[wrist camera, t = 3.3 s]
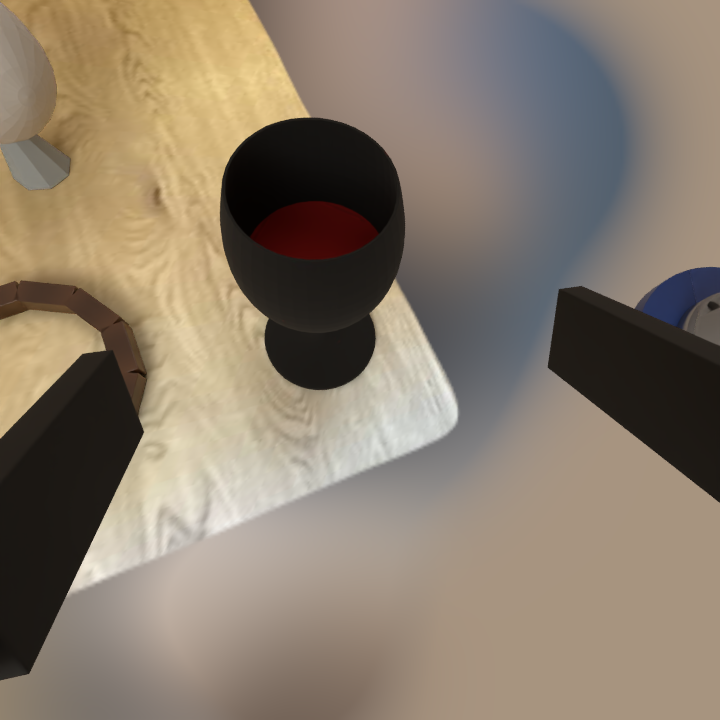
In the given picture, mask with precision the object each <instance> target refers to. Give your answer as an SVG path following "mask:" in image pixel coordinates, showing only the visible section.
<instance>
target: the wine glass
mask: <svg viewBox="0 0 720 720" xmlns="http://www.w3.org/2000/svg"><path fill="white" fill-rule="evenodd" d="M220 226H221V233H222V241H223V247H224V251H225V255H226V258H227V261H228V264H229V267H230V270H231V272H232V274H233V276H234V278H235V280H236V282H237V284H238V286H239V287H240V289H241V290H242V292H243V293H244V295H245V296H246V297H247V298H248V300H249V301H250V302H251V303H252V304H253V305H254V306H255V307H256V308H257V309H258V310H259V311H260V312H261V313H263V314H264V315H265V316H267V317H268V318H269V320H268V322H267V325H266V330H265V346H266V351H267V354H268V357H269V359H270V361H271V363H272V365H273V366H274V367H275V369H276V370H277V371H278V372H279V373H280V374H281V375H282V376H283V377H284V378H285V379H287V380H288V381H290V382H291V383H293V384H296V385H298V386H300V387H304V388H307V389H314V390H327V389H332V388H337V387H339V386H342V385H345V384H346V383H348V382H350V381H352V380H353V379H354V378H356V377H357V376H358V375H359V374H360V373H361V372H362V371H363V370H364V369H365V367H366V366H367V364H368V363H369V361H370V359H371V357H372V354H373V351H374V347H375V339H376V338H375V329H374V325H373V322H372V319H371V317H370V315H369V313H370V312H371V311H372V310H374V309H375V308H376V307H377V306H378V305H379V303H380V302H381V301H382V300H383V298H384V297H385V295H386V294H387V292H388V291H389V289H390V287H391V285H392V283H393V281H394V279H395V277H396V275H397V272H398V269H399V265H400V261H401V258H402V253H403V248H404V238H405V216H404V207H403V199H402V192H401V187H400V182H399V178H398V174H397V171H396V168H395V167H394V165H393V163H392V161H391V159H390V158H389V156H388V155H387V153H386V152H385V150H384V149H383V148H382V147H381V146H380V145H379V144H378V143H377V142H376V141H375V140H373V139H372V138H371V137H369V136H368V135H367V134H365V133H364V132H362V131H360V130H358V129H356V128H354V127H352V126H349V125H347V124H344V123H342V122H338V121H334V120H329V119H323V118H295V119H289V120H284V121H280V122H277V123H274V124H271V125H268V126H266V127H264V128H262V129H260V130H259V131H257V132H255V133H254V134H252V135H251V136H250V137H248V138H247V139H245V140H244V141H243V142H242V143H241V145H240V146H239V147H238V148H237V149H236V150H235V152H234V153H233V154H232V156H231V157H230V159H229V161H228V163H227V165H226V168H225V171H224V175H223V179H222V188H221V201H220Z"/></svg>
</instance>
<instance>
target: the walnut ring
mask: <svg viewBox="0 0 720 720" xmlns="http://www.w3.org/2000/svg"><path fill="white" fill-rule="evenodd" d="M30 309H31V310H41V311H51V312H61V313H71V314H77V315H78V316H80V317H81V318H82V319H84V320H85V321H86V322H88V323H89V324H90V325H92V326H93V327H94V328H96V329H97V330H98V331H100V332H101V335H102V338H103V341H104V344H105V348H106V351H108V350H113V352H114V354H115V357H116V360H117V362H118V365H119V368H120V370H121V373H122V375H123V378H124V381H125V383H126V386H127V389H128V391H129V394H130V396H131V399H132V402H133V404H134V407H135V410H136V412H137V415H138V411H139V407H140V403H141V399H142V396H143V392H144V388H145V384H146V380H147V379H146V378H144V377H143V375H145V374H146V370H145V367H144V364H143V361H142V358H141V355H140V352H139V349H138V346H137V343H136V340H135V337H134V334H133V331H132V329H131V328H130V327H129V326H128V325H129V324H128V323H126V322H125V321H124V320H123V319H122V318H121V317H120V316H118V315H117V314H115V313H114V312H113V311H111V310H110V309H109V308H107V307H106V306H104V305H103V304H102V303H100V302H99V301H98V300H96V299H95V298H94V297H92V296H91V295H89V294H88V293H87V292H85V291H84V290H83V289H81V288H79V289H78V288H77V287H76V286H69V285H59V284H50V283H40V282H30V281H20V284H19V283H17V282H16V281H14V282H11V283H8V284H5V285H2V286H0V320H1V319H4V318H6V317H9V316H12V315H15V314H18V313H21V312H24V311H27V310H30Z"/></svg>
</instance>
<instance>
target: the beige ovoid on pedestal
mask: <svg viewBox="0 0 720 720" xmlns="http://www.w3.org/2000/svg"><path fill="white" fill-rule="evenodd" d="M56 94H57V86H56V81H55V76H54V71H53V68H52V66H51V64H50V62H49V60H48V58H47V56H46V54H45V51H44V50H43V48H42V46H41V44H40V43H39V42H38V41H37V40H36V38H35V37H34V36H33V35H32V33H31V32H30V31H29V30H28V29H27V27H26V26H25V25H24V24H23V23H22V22H21V20H20V19H19V18H18V17H17V16H16V15H15V14H14V13H13V12H11V11H10V10H9V9H8V8H7V7H6V6H4V5H3V4H2V3H1V2H0V148H1V150H2V152H3V155H4V157H5V159H6V162H7V164H8V166H9V169H10V171H11V173H12V176H13V178H14V179H15V180H16V181H17V182H19V183H20V184H21V185H23V186H24V187H25V188H26V189H28V190H37V189H52V188H53V187H54V186H56V185H57V184H58V183H59V182H61V181H62V180H63V179H65V178H66V177H67V176H69V168H70V158H69V157H68V156H66V155H65V154H64V153H62V152H61V151H59V150H58V149H57V148H55V147H54V146H53V145H51V144H50V143H48V142H47V141H45V140H44V139H43V138H41V137H40V136H38V135H37V134H38V133H39V132H41V131H42V129H43V128H44V127H45V126H46V124H47V123H48V122H49V121H50V119H51V117H52V114H53V111H54V108H55V106H56Z"/></svg>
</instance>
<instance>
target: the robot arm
mask: <svg viewBox="0 0 720 720" xmlns="http://www.w3.org/2000/svg"><path fill="white" fill-rule="evenodd" d="M548 368H549V369H550V370H552V371H553V372H554V373H555V374H557V375H558V376H559V377H561V378H562V379H563V380H564V381H566V382H567V383H568V384H569V385H571V386H572V387H573V388H574V389H576V390H577V391H578V392H580V393H581V394H582V395H584V396H585V397H586V398H587V399H588V400H590V401H591V402H592V403H594V404H595V405H596V406H597V407H599V408H600V409H601V410H603V411H604V412H605V413H606V414H608V415H609V416H610V417H611V418H613V419H614V420H615V421H616V422H618V423H619V424H620V425H622V426H623V427H624V428H625V429H627V430H628V431H629V432H630V433H632V434H633V435H634V436H636V437H637V438H638V439H639V440H641V441H642V442H643V443H644V444H646V445H647V446H648V447H650V448H651V449H652V450H653V451H655V452H656V453H657V454H658V455H660V456H661V457H662V458H664V459H665V460H666V461H667V462H669V463H670V464H671V465H673V466H674V467H675V468H676V469H678V470H679V471H680V472H682V473H683V474H684V475H685V476H686V477H688V478H689V479H690V480H692V481H693V482H694V483H695V484H697V485H698V486H699V487H700V488H702V489H703V490H704V491H706V492H707V493H708V494H709V495H711V496H712V497H713V498H715V499H716V500H717V501H718V502H720V293H716V294H714V295H711V296H709V297H707V298H706V299H704V300H702V301H700V302H698V303H696V304H695V305H693V306H692V307H690V308H689V309H688V310H687V311H686V312H685V313H684V314H683V316H682V317H681V319H680V321H679V323H678V325H677V327H675V326H673V325H670V324H668V323H666V322H664V321H661V320H659V319H657V318H654V317H652V316H650V315H647V314H645V313H643V312H640V311H638V310H636V309H633V308H631V307H629V306H626V305H624V304H622V303H620V302H617V301H615V300H612V299H610V298H608V297H605V296H603V295H601V294H598V293H596V292H594V291H592V290H589V289H587V288H585V287H582V286H579V287H571V288H564V289H559V293H558V299H557V306H556V313H555V320H554V327H553V334H552V341H551V348H550V355H549V362H548ZM143 433H144V431H143V428H142V425H141V423H140V420H139V417H138V415H137V412H136V410H135V407H134V404H133V402H132V399H131V396H130V394H129V391H128V389H127V386H126V383H125V381H124V378H123V375H122V373H121V370H120V368H119V365H118V362H117V360H116V357H115V354H114V352H113V350H108V351H100V352H93V353H86V354H82V355H81V356H80V357H79V358H78V359H77V360H76V361H75V362H74V363H73V364H72V365H71V367H70V368H69V369H68V370H67V371H66V372H65V373H64V374H63V375H62V376H61V377H60V378H59V379H58V380H57V381H56V382H55V383H54V384H53V385H52V386H51V387H50V388H49V389H48V390H47V391H46V392H45V393H44V394H43V395H42V396H41V397H40V398H39V400H38V401H37V402H36V403H35V404H34V405H33V406H32V407H31V408H30V409H29V410H28V411H27V412H26V413H25V414H24V415H23V416H22V417H21V418H20V419H19V420H18V421H17V422H16V423H15V424H14V425H13V426H12V427H11V428H10V429H9V430H8V431H7V432H6V434H5V435H4V436H3V437H2V438H1V439H0V680H4V679H8V678H13V677H17V676H22V675H26V674H29V673H30V671H31V669H32V667H33V665H34V662H35V660H36V658H37V656H38V654H39V652H40V650H41V648H42V646H43V644H44V641H45V639H46V637H47V635H48V633H49V631H50V629H51V627H52V625H53V623H54V620H55V618H56V616H57V614H58V612H59V610H60V608H61V606H62V604H63V602H64V599H65V597H66V595H67V593H68V591H69V589H70V587H71V585H72V583H73V581H74V578H75V576H76V574H77V572H78V570H79V568H80V566H81V564H82V562H83V560H84V557H85V555H86V553H87V551H88V549H89V547H90V545H91V543H92V541H93V539H94V536H95V534H96V532H97V530H98V528H99V526H100V524H101V522H102V520H103V518H104V515H105V513H106V511H107V509H108V507H109V505H110V503H111V501H112V499H113V497H114V494H115V492H116V490H117V488H118V486H119V484H120V482H121V480H122V478H123V476H124V473H125V471H126V469H127V467H128V465H129V463H130V461H131V459H132V457H133V454H134V452H135V450H136V448H137V446H138V444H139V442H140V440H141V438H142V436H143Z"/></svg>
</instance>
